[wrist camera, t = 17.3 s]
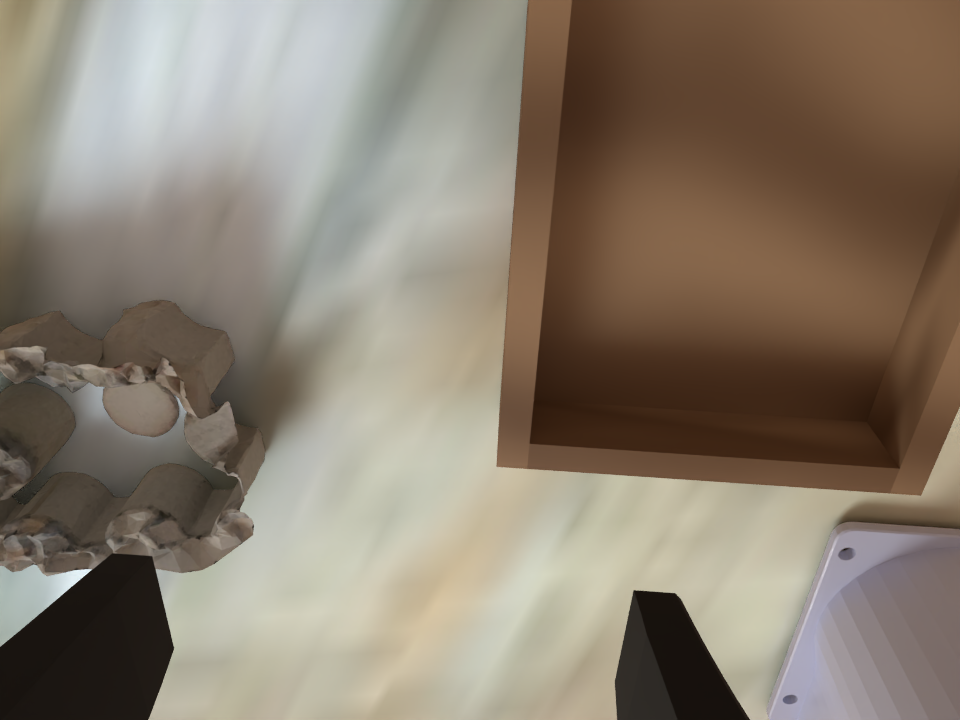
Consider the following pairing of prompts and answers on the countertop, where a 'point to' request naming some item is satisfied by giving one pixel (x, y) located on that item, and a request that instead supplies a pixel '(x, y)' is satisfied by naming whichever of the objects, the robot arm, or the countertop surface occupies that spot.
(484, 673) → the countertop surface
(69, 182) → the countertop surface
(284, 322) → the countertop surface
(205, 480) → the egg carton
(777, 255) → the long low wooden box
